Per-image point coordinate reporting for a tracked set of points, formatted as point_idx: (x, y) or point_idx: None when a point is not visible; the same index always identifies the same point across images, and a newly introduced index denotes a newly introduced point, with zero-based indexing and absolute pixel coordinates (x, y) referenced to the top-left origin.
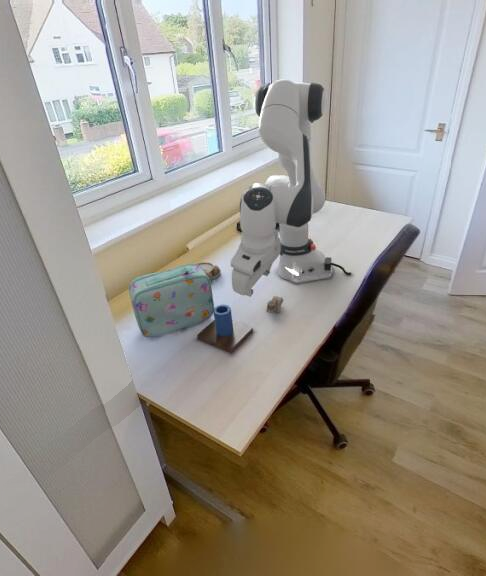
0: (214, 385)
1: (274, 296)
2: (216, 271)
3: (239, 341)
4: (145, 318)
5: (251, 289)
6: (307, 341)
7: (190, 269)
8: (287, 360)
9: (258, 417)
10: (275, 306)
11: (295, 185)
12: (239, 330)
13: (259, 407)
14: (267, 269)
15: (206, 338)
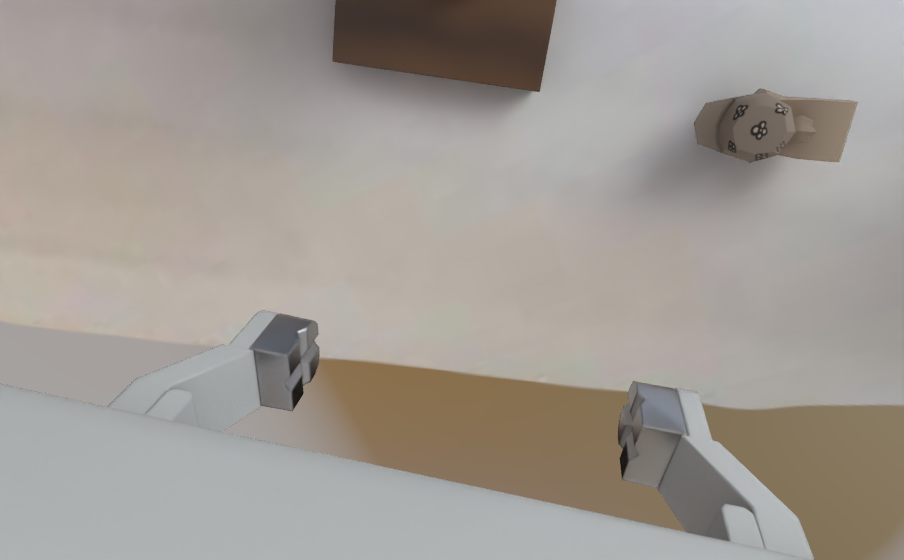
0: (126, 88)
1: (846, 108)
2: None
3: (409, 72)
4: None
5: (282, 397)
6: (552, 353)
7: None
8: (411, 319)
9: (105, 328)
10: (739, 156)
11: None
12: (491, 25)
13: (143, 314)
14: (668, 478)
15: None
